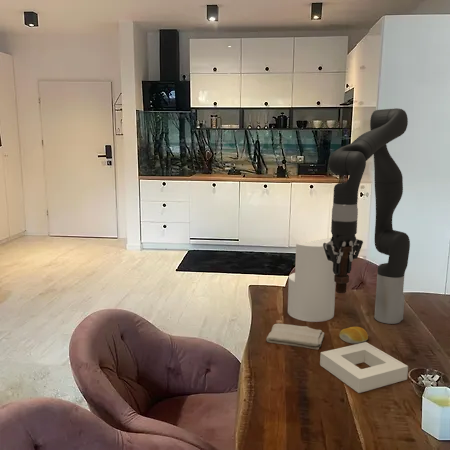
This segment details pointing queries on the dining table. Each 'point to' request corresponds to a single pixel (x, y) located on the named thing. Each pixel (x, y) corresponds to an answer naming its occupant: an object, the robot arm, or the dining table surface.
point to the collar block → (369, 377)
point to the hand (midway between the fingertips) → (341, 273)
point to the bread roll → (354, 335)
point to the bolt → (343, 270)
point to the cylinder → (312, 284)
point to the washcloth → (296, 336)
